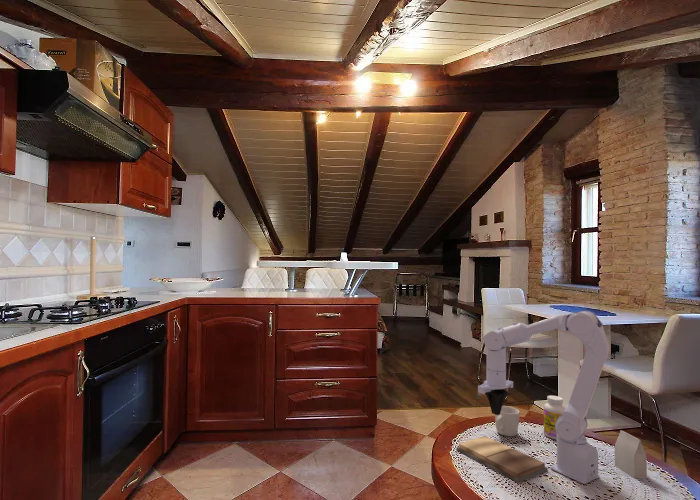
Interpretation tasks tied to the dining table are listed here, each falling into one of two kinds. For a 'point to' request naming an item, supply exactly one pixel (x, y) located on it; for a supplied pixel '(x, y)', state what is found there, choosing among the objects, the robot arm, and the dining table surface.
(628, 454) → the beige gabled carton
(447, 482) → the dining table surface
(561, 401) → the supplement bottle
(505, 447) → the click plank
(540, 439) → the dining table surface
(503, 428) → the cup
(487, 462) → the floor board
